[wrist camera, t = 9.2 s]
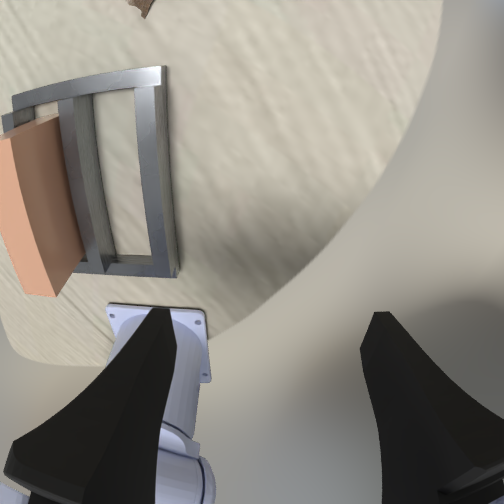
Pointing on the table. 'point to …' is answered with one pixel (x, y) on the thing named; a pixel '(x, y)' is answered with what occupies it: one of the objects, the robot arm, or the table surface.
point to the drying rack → (88, 171)
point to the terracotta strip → (38, 207)
